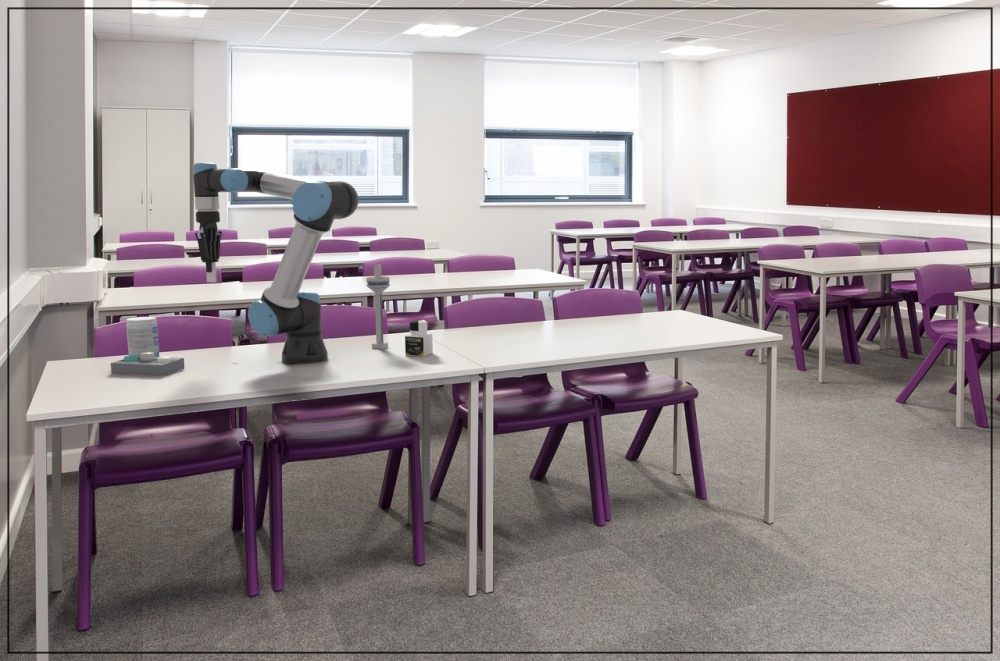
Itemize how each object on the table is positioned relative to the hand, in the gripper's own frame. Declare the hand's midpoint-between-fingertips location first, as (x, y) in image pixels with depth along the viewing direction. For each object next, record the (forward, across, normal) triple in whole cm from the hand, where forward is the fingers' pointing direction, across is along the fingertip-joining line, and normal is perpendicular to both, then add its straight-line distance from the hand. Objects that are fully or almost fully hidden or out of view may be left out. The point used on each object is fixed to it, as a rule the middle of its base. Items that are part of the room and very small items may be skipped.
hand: (211, 281), depth 297 cm
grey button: (+24, +22, -11) cm, 34 cm away
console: (+26, +22, -11) cm, 36 cm away
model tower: (+27, -31, +47) cm, 62 cm away
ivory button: (+25, +22, -5) cm, 33 cm away
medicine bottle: (+27, -21, +65) cm, 73 cm away
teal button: (+25, +22, -17) cm, 37 cm away
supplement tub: (+27, +8, -22) cm, 35 cm away
